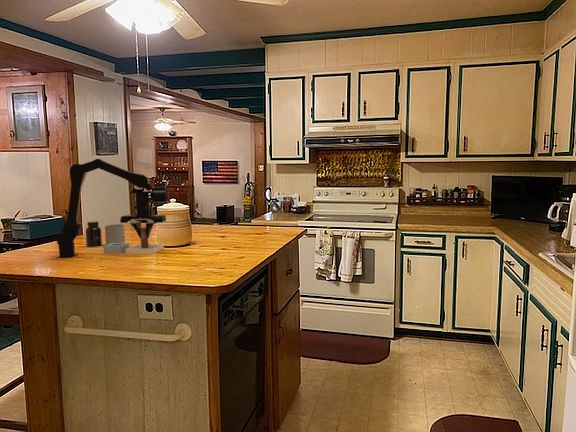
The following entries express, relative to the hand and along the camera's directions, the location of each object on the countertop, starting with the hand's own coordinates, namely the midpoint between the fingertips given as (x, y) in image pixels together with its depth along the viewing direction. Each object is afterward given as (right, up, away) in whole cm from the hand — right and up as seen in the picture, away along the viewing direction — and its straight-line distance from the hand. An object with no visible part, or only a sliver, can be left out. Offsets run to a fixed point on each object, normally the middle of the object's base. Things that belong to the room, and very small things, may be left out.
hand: (144, 238), depth 194 cm
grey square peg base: (-12, -6, +1) cm, 14 cm away
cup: (-19, -5, +15) cm, 24 cm away
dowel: (0, -4, +1) cm, 4 cm away
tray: (0, -6, +1) cm, 6 cm away
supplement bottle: (-29, -5, +14) cm, 33 cm away
